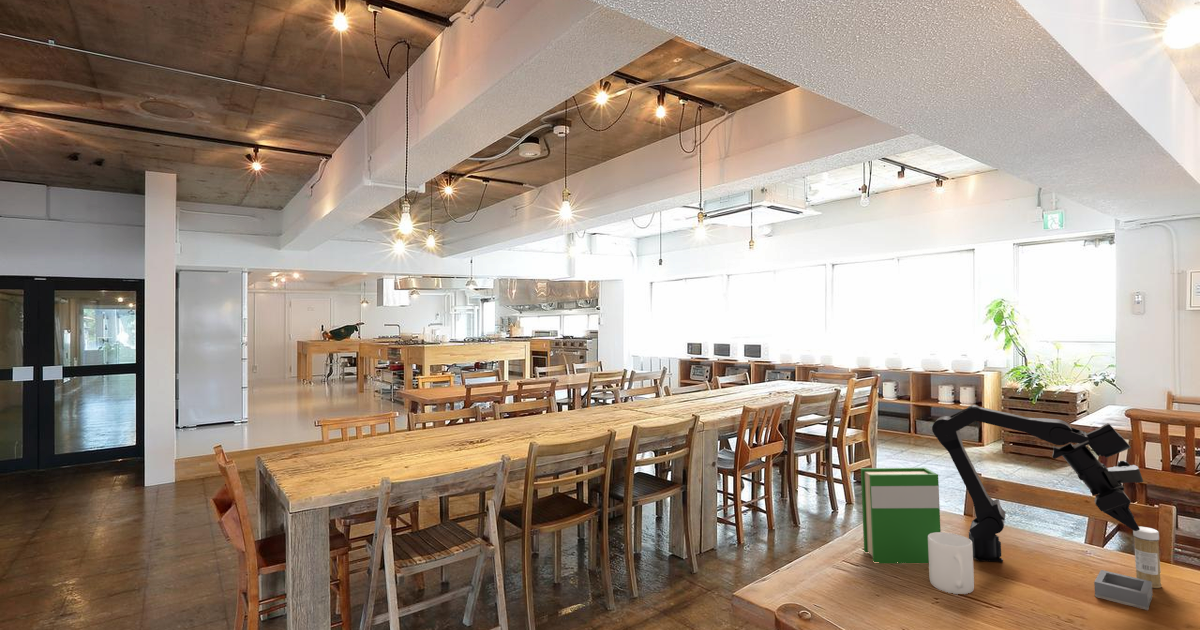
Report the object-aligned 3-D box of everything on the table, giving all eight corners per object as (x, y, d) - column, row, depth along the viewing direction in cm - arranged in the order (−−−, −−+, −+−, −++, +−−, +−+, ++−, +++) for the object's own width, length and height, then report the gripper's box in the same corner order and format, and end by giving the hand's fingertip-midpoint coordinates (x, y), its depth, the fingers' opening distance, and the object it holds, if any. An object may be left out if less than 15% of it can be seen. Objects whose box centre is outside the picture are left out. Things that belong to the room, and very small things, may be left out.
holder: (1147, 610, 127) (1147, 594, 127) (1094, 596, 134) (1094, 581, 134) (1152, 596, 133) (1151, 581, 133) (1101, 584, 140) (1100, 569, 140)
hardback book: (874, 563, 156) (870, 475, 156) (864, 552, 163) (860, 468, 163) (941, 563, 154) (938, 474, 154) (928, 552, 161) (925, 467, 162)
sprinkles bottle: (1163, 585, 138) (1161, 529, 138) (1158, 590, 135) (1155, 533, 136) (1138, 578, 142) (1136, 524, 142) (1132, 583, 139) (1130, 528, 139)
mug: (957, 576, 146) (955, 531, 146) (991, 599, 134) (989, 549, 134) (921, 579, 146) (919, 533, 146) (952, 601, 134) (950, 551, 134)
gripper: (1126, 459, 132) (1181, 523, 127) (1117, 444, 147) (1165, 500, 142) (1075, 480, 138) (1125, 541, 133) (1071, 463, 153) (1116, 518, 147)
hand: (1134, 524), depth 139 cm, fingers open, 9 cm apart
